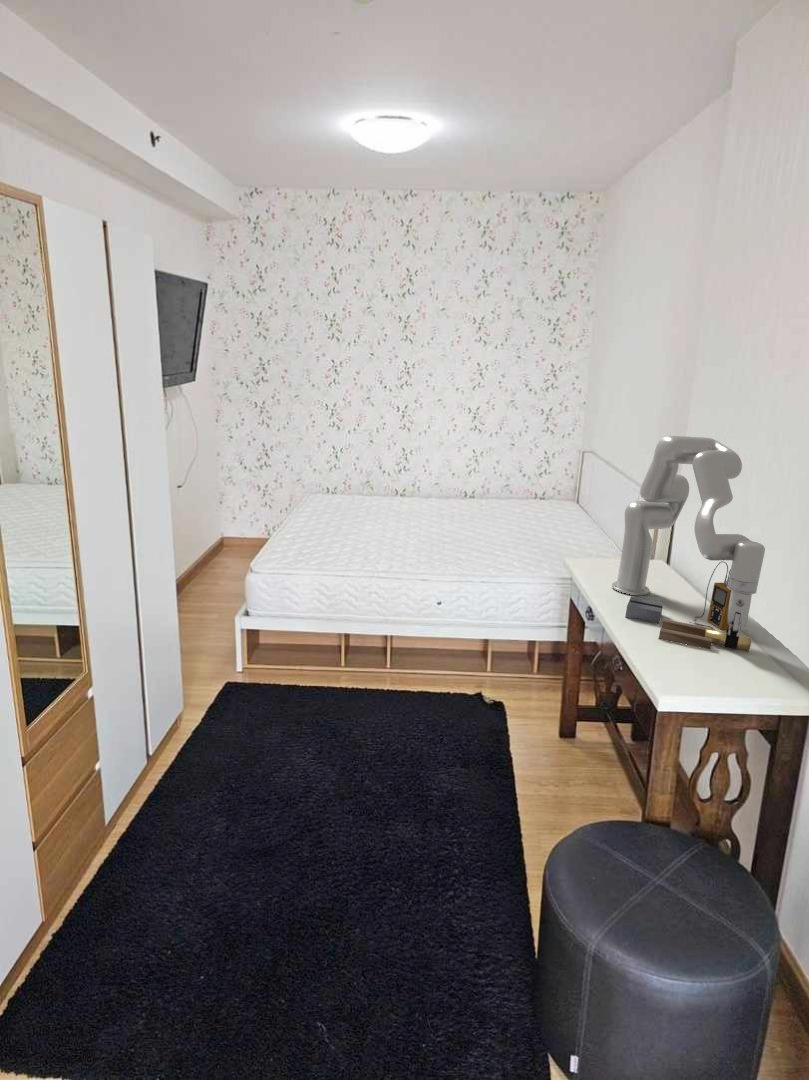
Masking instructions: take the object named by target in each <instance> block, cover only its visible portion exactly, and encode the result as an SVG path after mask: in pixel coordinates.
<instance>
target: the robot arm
mask: <svg viewBox="0 0 809 1080" xmlns="http://www.w3.org/2000/svg"><path fill="white" fill-rule="evenodd" d="M654 449H655V450H654V452H653V453H654V455H653V458H652V461H651V463H650V466H649V468H648V470H647V473H646V474H645V477H644V478H643V479H644V480H643V481H642V484H641V486H640V490H639V494H640V497H641V499H643V500H637V501H636V500H635V501H633V502H631V503H629V504H628V505H627V506H626V508H625V510H624V535H623V542H622V549H621V555H620V561H619V567H618V568H619V569H618V573H617V581H614V582H612V583H611V588H612V587H613V588H614V589H615V590H614V589H613V588H612V589H613V590H614V591H616V590H617V591H616V592H618V591H619V592H618V593H621V592H622V594H624V593H626V594H625V595H629V594H630V596H647V595H649V593H650V588H649V587H648V586H646V584H647V579H648V573H649V568H650V567H649V566H650V561H651V556H652V549H653V538H652V536H651V534H650V530H664V529H665V530H667V529H670V528H671V527H673V526H674V524H675V523H676V522H677V519H678V518H679V517H680V514H681V512H682V510H683V508H684V506H685V504H686V502H687V499H688V497H689V494H690V484H689V481H688V479H687V478H686V477H685V476H684V475H681V474H678V473H679V466H680V465H679V464H682V465H692V469H693V473H694V477H695V481H696V485H697V490H698V492H699V497H700V500H701V501H700V502H701V506H700V508H699V511H698V512H697V514H696V517H695V520H694V521H695V522H694V536H695V539H696V544H697V547H698V550H699V552H700V554H701V555H702V557H703V558H705V560H708V561H731V566H730V569H731V570H730V569H729V571H730V574H729V581H728V585H727V588H728V589H730V590H731V594H730V600H729V605H728V616H727V619H728V628H729V629H725V632H726V633H728V634H727V635H726V640H725V645H724V646H723V647H724V648H726V649H730V650H734V651H735V650H738V649H737V644H738V639H739V635H740V630H741V627H742V628H743V629H746V628H747V624H748V620H749V614H750V609H751V602H752V596H753V595H755V594H757V591H758V585H759V581H760V576H761V571H762V566H763V563H764V557H765V553H766V548H765V546H764V545H763V544H761V543H760V542H756V541H752V540H751V539H750V538H748V537H747V536H745V535H742V534H739V533H738V534H737V533H716V529H715V525H714V516H715V513H716V512H717V510H718V509H721V508H723V507H725V506H728V505H729V504H730V503H732V501H733V497H734V495H733V492H732V489H731V485H730V482H729V480H733V479H736V478H737V477H738V476H740V474H741V472H742V469H743V464H742V459H741V457H740V456H739V455H738V453H737V452H735V451H734V450H733V449H731V448H730V447H728V446H726V445H724V444H723V443H721V441H720V442H719V441H717V440H716V439H714V438H711V437H704V436H703V437H701V436H700V437H699V436H698V437H697V436H686V435H685V436H683V435H682V436H681V435H667V436H663V437H662V438H661V439H659V440H658V441H657V444H656V447H655V448H654Z"/></svg>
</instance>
